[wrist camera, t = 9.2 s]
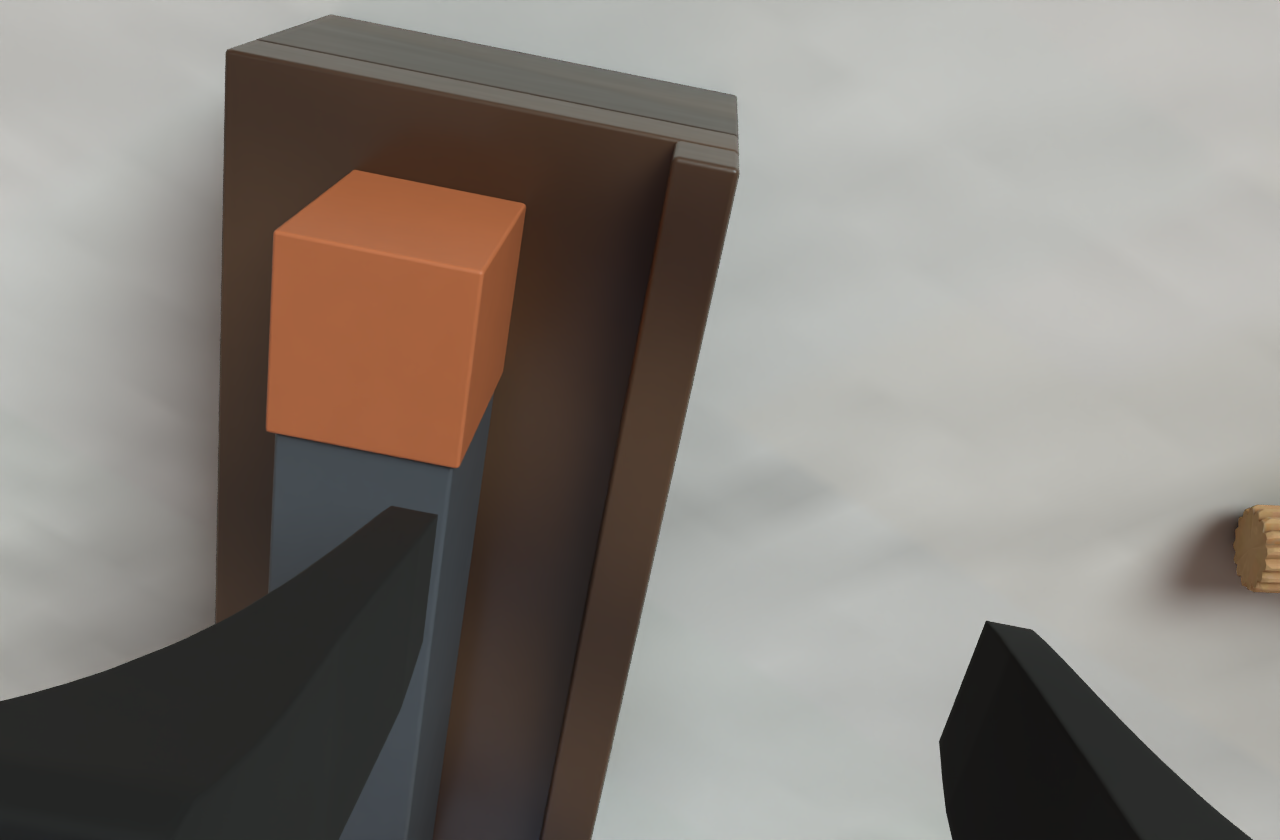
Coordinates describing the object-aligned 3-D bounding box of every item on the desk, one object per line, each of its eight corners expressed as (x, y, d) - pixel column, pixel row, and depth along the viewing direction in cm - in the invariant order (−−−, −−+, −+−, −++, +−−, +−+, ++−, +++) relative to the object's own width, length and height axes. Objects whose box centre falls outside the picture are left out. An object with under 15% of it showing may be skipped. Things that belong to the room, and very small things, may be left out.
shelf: (588, 786, 30) (556, 997, 24) (288, 729, 29) (185, 927, 24) (737, 95, 22) (741, 169, 16) (328, 13, 22) (190, 59, 16)
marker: (433, 873, 24) (389, 1020, 21) (305, 849, 24) (242, 992, 21) (527, 202, 18) (483, 271, 15) (352, 168, 18) (271, 230, 15)
